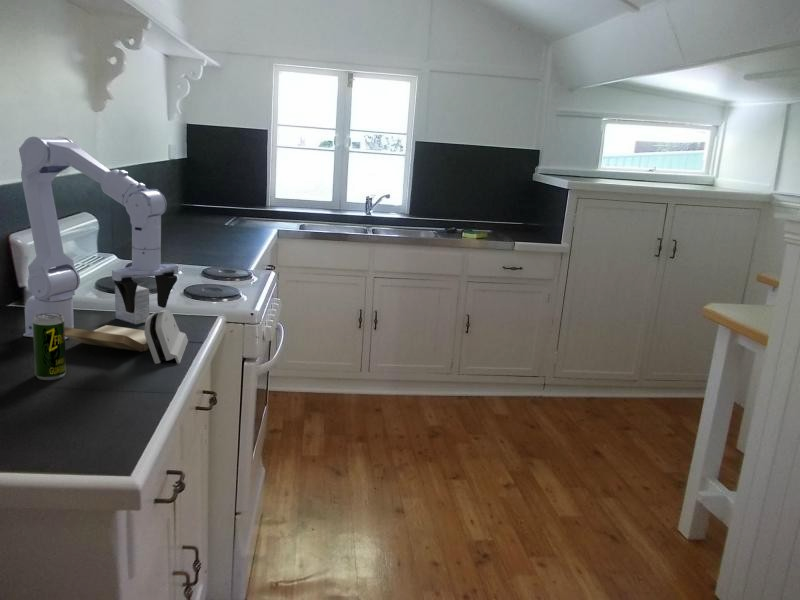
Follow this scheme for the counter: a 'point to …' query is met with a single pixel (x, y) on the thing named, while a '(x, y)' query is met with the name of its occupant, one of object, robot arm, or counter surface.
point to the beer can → (49, 346)
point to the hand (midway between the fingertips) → (146, 309)
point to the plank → (103, 339)
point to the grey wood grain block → (140, 306)
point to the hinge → (164, 337)
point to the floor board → (126, 334)
